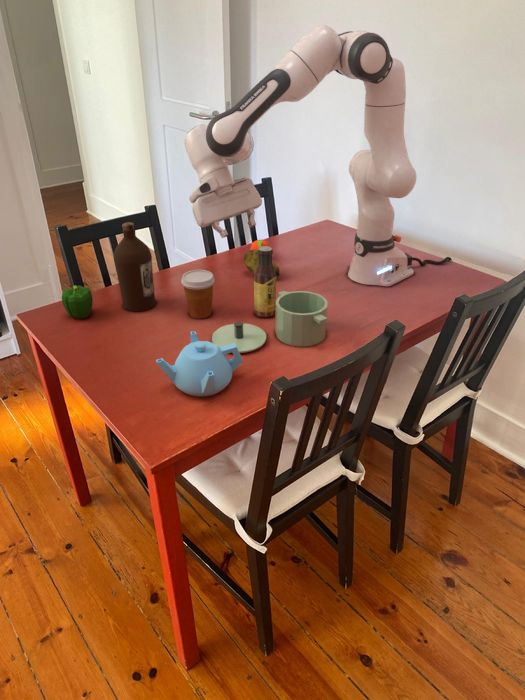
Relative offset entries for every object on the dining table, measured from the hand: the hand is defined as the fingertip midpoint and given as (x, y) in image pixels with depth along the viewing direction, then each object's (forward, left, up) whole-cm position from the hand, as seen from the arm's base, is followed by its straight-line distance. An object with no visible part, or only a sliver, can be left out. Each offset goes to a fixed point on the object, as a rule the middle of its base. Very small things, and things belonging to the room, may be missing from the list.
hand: (239, 231), depth 148 cm
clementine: (-23, -26, -23) cm, 41 cm away
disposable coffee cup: (+13, -1, -23) cm, 26 cm away
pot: (-5, +24, -23) cm, 33 cm away
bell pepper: (+43, -19, -23) cm, 52 cm away
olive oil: (+26, -16, -23) cm, 38 cm away
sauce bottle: (-3, +9, -23) cm, 25 cm away
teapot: (+28, +30, -23) cm, 47 cm away
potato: (-16, -14, -23) cm, 31 cm away
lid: (+11, +18, -22) cm, 31 cm away
